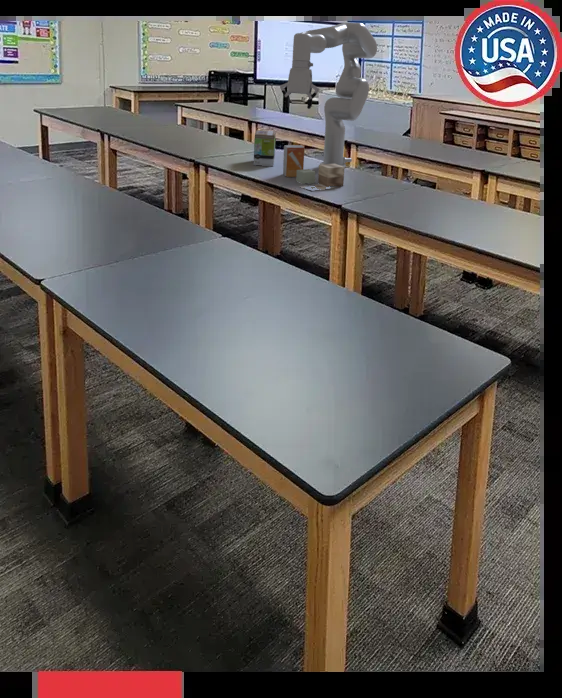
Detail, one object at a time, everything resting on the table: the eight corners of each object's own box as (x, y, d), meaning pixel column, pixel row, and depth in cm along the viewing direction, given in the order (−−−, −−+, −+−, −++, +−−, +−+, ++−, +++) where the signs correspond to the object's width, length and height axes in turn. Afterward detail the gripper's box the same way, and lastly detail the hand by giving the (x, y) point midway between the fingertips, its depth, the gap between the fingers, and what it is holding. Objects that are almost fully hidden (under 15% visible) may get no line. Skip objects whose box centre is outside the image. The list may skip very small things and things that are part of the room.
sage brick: (308, 180, 299) (308, 169, 297) (314, 183, 294) (315, 171, 292) (296, 181, 297) (296, 169, 294) (302, 184, 292) (303, 172, 290)
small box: (285, 177, 303) (287, 147, 298) (282, 174, 309) (283, 145, 303) (303, 177, 305) (304, 147, 299) (299, 174, 311) (301, 144, 305)
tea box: (274, 166, 325) (275, 134, 319) (253, 165, 325) (253, 134, 319) (274, 161, 339) (275, 130, 332) (254, 160, 339) (255, 129, 332)
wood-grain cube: (333, 182, 297) (335, 163, 294) (343, 185, 291) (344, 167, 287) (317, 183, 294) (319, 164, 290) (327, 187, 287) (328, 168, 284)
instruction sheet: (321, 184, 292) (321, 183, 292) (334, 188, 285) (334, 188, 285) (299, 187, 285) (299, 186, 285) (311, 191, 279) (311, 190, 279)
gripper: (322, 66, 289) (319, 108, 296) (284, 63, 293) (281, 105, 300) (318, 66, 283) (315, 109, 290) (279, 64, 287) (276, 106, 294)
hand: (298, 107), depth 295 cm, fingers open, 9 cm apart
